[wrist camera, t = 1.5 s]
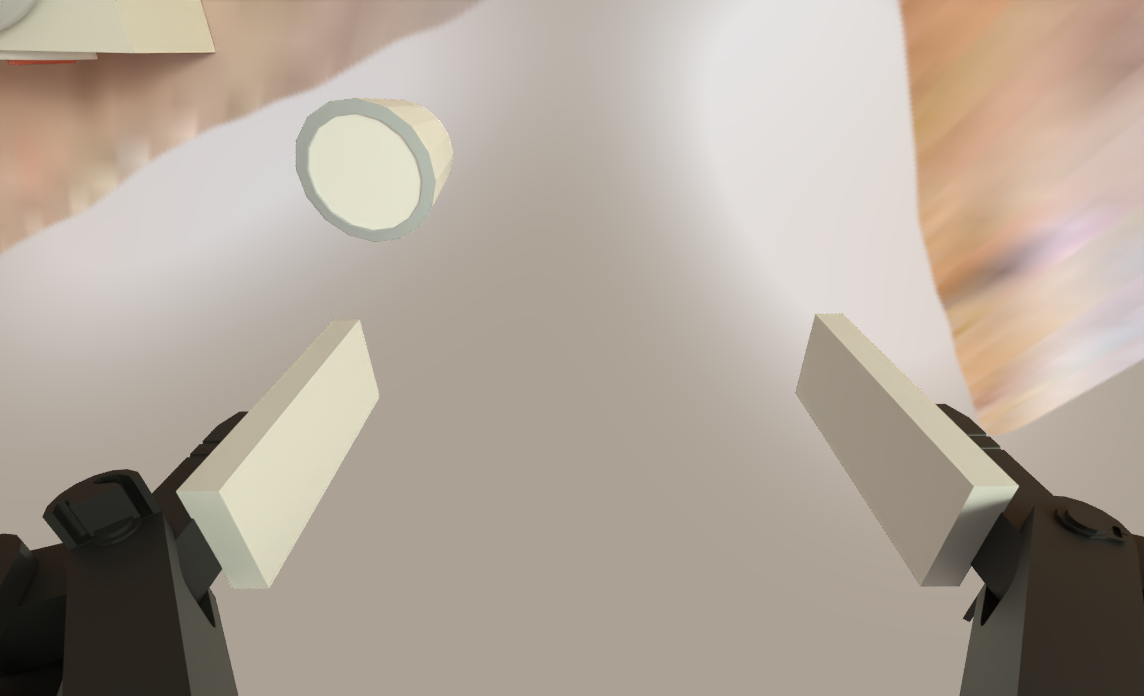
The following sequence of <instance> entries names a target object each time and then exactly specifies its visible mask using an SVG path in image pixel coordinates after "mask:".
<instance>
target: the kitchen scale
mask: <svg viewBox="0 0 1144 696" xmlns="http://www.w3.org/2000/svg"><path fill="white" fill-rule="evenodd" d="M96 52H106V53H208V52H216V51H215V48H214V44H213V41H212V38H211V34H210V31H209V28H208V24H207V21H206V17H205V14H204V11H203V7H202V4H201V1H200V0H0V60H8V62H9V64H10V65H22V64H58V63H76V61H75V60H94V59H98V57H97V54H96Z"/></svg>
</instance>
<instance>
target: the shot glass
mask: <svg viewBox="0 0 1144 696" xmlns="http://www.w3.org/2000/svg"><path fill="white" fill-rule="evenodd" d="M452 161H453V151H452V146H451V142H450V137H449V135H448V133H447V132H446V130H445V128H444V127H443V126H442V124H441V122H440V121H439V119H438V118H437V117H436V116H434V115H433V114H432V113H431V112H429V111H428V110H427V109H426V108H424V107H423V106H421V105H418V104H415V103H412V102H408V101H405V100H394V99H369V98H353V99H345V100H338V101H330V102H328V103H326V104H325V105H323V106H322V107H321V108H319V109H318V110H316V111H315V112H314V113H312V114H311V115H310V116H308V117H307V119H306V121H305V123H304V125H303V127H302V129H301V132H300V134H299V136H298V138H297V140H296V170H297V173H298V175H299V178H300V181H301V183H302V186H303V188H304V191H305V194H306V196H307V198H308V199H309V200H310V201H311V203H312V204H313V205H314V206H315V208H316V209H317V210H318V211H319V212H320V214H321V215H322V216H323V217H324V219H325V220H327V221H328V222H330V223H331V224H333V225H334V226H336V227H337V228H339V229H341V230H342V231H344V232H345V233H347V234H348V235H351V236H354V237H358V238H362V239H366V240H369V241H373V242H378V241H387V240H395V239H400V238H402V237H403V236H405V235H407V234H409V233H410V232H412V231H413V230H415V229H417V228H419V226H420V225H421V224H422V222H423V221H424V219H425V217H426V216H427V214H428V213H429V211H430V210H431V208H432V207H433V205H434V203H435V201H436V199H437V197H438V195H439V193H440V192H441V190H442V188H443V186H444V184H445V182H446V180H447V179H448V177H449V175H450V173H451V167H452Z"/></svg>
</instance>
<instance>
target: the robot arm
mask: <svg viewBox="0 0 1144 696" xmlns="http://www.w3.org/2000/svg"><path fill="white" fill-rule="evenodd" d="M796 394H797V396H798V397H799V399H800V400H801V402H802V404H803V405H804V407H805V408H806V410H807V412H808V413H809V415H810V416H811V418H812V419H813V421H814V422H815V424H816V425H817V427H818V429H819V430H820V432H821V433H822V435H823V436H824V438H825V439H826V441H827V442H828V444H829V445H830V447H831V449H832V450H833V452H834V453H835V455H836V456H837V458H838V459H839V461H840V463H841V464H842V466H843V467H844V469H845V470H846V472H847V473H848V475H849V476H850V478H851V479H852V481H853V482H854V484H855V486H856V487H857V489H858V490H859V492H860V494H861V495H862V497H863V498H864V500H865V501H866V503H867V504H868V506H869V507H870V509H871V510H872V512H873V513H874V515H875V517H876V518H877V520H878V521H879V523H880V524H881V526H882V528H883V529H884V531H885V532H886V534H887V535H888V537H889V538H890V540H891V541H892V543H893V544H894V546H895V548H896V549H897V551H898V552H899V554H900V555H901V557H902V558H903V560H904V562H905V563H906V565H907V566H908V568H909V569H910V571H911V572H912V574H913V576H914V577H915V579H916V580H917V582H918V583H919V585H920V586H960V584H961V583H962V581H963V579H964V577H965V576H966V574H967V573H968V571H969V569H970V568H971V566H972V567H973V568H974V570H975V571H976V572H977V573H978V575H979V576H980V577H981V579H982V580H983V581H984V583H985V584H984V586H983V587H982V589H981V590H980V592H979V594H978V595H977V597H976V599H975V600H974V602H973V603H972V605H971V606H970V608H969V609H968V611H967V612H966V614H965V616H964V618H963V619H965V620H967V621H969V622H970V621H971V619H972V618H973V617H974V619H973V624H972V630H971V635H970V641H969V646H968V652H967V658H966V663H965V668H964V674H963V679H962V685H961V691H960V696H1144V537H1143V536H1138V535H1134V534H1131V533H1130V532H1129V531H1128V530H1127V529H1126V528H1125V527H1124V526H1123V525H1122V524H1121V523H1120V522H1119V521H1117V520H1116V519H1114V518H1113V517H1111V516H1110V515H1108V514H1107V513H1105V512H1104V511H1102V510H1100V509H1098V508H1096V507H1093V506H1091V505H1089V504H1087V503H1085V502H1082V501H1079V500H1075V499H1071V498H1068V497H1063V496H1062V497H1061V496H1053V495H1052V494H1051V493H1050V492H1049V491H1048V490H1047V489H1045V487H1043V486H1042V485H1041V484H1040V483H1039V482H1038V481H1037V480H1036V479H1035V478H1034V477H1033V476H1032V475H1030V474H1029V473H1028V472H1027V471H1026V470H1025V469H1024V468H1023V467H1022V466H1020V464H1019V463H1018V462H1016V461H1015V460H1014V459H1013V458H1012V457H1011V456H1010V455H1009V454H1008V453H1007V452H1006V451H1005V450H1001V449H1000V446H999V445H998V444H997V443H996V442H995V441H994V440H993V439H992V438H991V437H987V436H986V433H985V432H984V431H983V430H982V429H981V428H980V427H979V426H978V425H977V424H975V423H974V422H973V421H972V420H971V419H970V418H969V417H967V416H965V415H964V414H962V413H960V412H958V411H957V410H955V409H953V408H951V407H950V406H948V405H946V404H935V403H933V402H932V401H931V400H930V399H929V398H928V397H927V396H926V395H925V394H924V393H923V392H922V391H921V390H920V389H919V388H918V387H917V386H916V385H915V384H914V383H913V382H912V381H911V380H910V379H909V378H908V377H907V376H906V375H905V374H904V373H903V372H901V370H900V369H898V367H896V365H895V364H894V363H892V362H891V361H890V360H889V359H888V358H887V357H886V356H885V355H884V354H883V353H882V352H881V351H880V350H879V349H878V348H877V347H876V346H875V345H874V344H873V343H872V342H871V341H870V340H869V339H868V338H867V337H866V336H865V335H864V334H863V333H862V332H861V331H860V330H859V329H858V328H857V327H856V326H855V325H853V324H852V323H851V322H850V321H849V320H848V319H847V318H846V317H845V316H844V315H843V314H815V318H814V322H813V326H812V330H811V333H810V338H809V341H808V345H807V349H806V353H805V357H804V361H803V365H802V369H801V373H800V377H799V381H798V385H797V389H796ZM379 397H380V396H379V392H378V388H377V384H376V381H375V377H374V373H373V369H372V365H371V361H370V357H369V354H368V350H367V346H366V342H365V338H364V334H363V330H362V327H361V323H360V320H359V319H350V320H349V319H348V320H347V319H346V320H342V319H341V320H333V321H332V322H331V323H330V324H329V325H328V326H327V327H326V328H325V330H324V331H322V333H321V334H320V335H319V336H318V337H317V338H316V339H315V340H314V341H313V342H312V343H311V345H310V346H309V347H308V348H307V349H306V350H305V351H304V352H303V353H302V354H301V356H300V357H299V358H298V359H297V360H296V361H295V362H294V363H293V364H292V365H291V367H289V369H288V370H287V371H286V372H285V373H284V374H283V375H282V376H281V377H280V378H279V379H278V381H277V382H276V383H275V384H274V385H273V386H272V387H271V388H270V390H268V392H267V393H266V394H265V395H264V396H263V397H262V398H261V399H260V400H259V401H258V402H257V404H256V405H255V406H254V407H253V408H252V409H251V410H250V411H249V412H238V413H237V414H235V415H234V416H232V417H231V418H229V419H227V420H226V421H224V422H222V423H221V424H219V425H218V426H217V427H216V428H215V429H214V430H213V431H212V432H211V433H210V434H209V435H208V436H207V437H206V438H205V439H204V441H203V444H199V446H198V447H197V448H196V449H195V450H194V451H193V452H192V453H191V454H190V457H187V458H186V459H185V460H184V461H183V462H182V463H181V464H180V465H179V466H178V467H177V468H176V469H175V470H174V471H173V472H172V473H171V474H170V476H168V478H167V479H166V480H165V481H164V482H163V483H162V484H161V485H160V486H159V487H158V488H157V489H156V490H155V491H154V492H153V493H151V492H150V490H149V489H148V487H147V485H146V484H145V482H144V481H143V479H142V477H141V476H140V474H139V473H138V472H136V471H132V470H128V469H125V470H112V471H109V472H105V473H102V474H98V475H95V476H92V477H90V478H88V479H86V480H84V481H81V482H79V483H77V484H75V485H73V486H72V487H70V488H69V489H67V490H66V491H64V492H63V493H61V494H60V495H58V496H57V497H56V498H55V499H54V500H53V501H52V502H51V503H50V504H49V505H48V506H47V508H46V510H45V512H44V515H43V518H44V519H45V521H46V522H47V523H48V524H49V526H50V527H51V528H52V529H53V531H54V532H55V533H56V534H57V536H58V537H59V538H60V540H61V541H62V542H63V543H61V544H57V545H53V546H48V547H44V548H40V549H36V550H31V551H30V550H29V549H28V548H27V547H26V545H25V544H24V543H23V542H22V541H21V540H20V538H19V537H18V536H17V535H12V534H0V696H238V693H237V689H236V684H235V680H234V675H233V671H232V667H231V663H230V658H229V654H228V650H227V645H226V641H225V637H224V632H223V628H222V624H221V620H220V615H219V611H218V606H217V603H216V598H215V596H214V594H213V593H212V591H211V590H210V588H209V587H210V586H211V584H212V583H213V581H214V580H215V579H216V577H217V576H218V574H219V573H220V571H221V570H222V572H223V574H224V576H225V577H226V579H227V581H228V583H229V584H230V586H231V588H232V589H244V588H245V589H252V588H254V589H256V588H258V589H262V588H263V589H266V588H268V589H269V588H270V586H271V584H272V583H273V581H274V579H275V577H276V576H277V574H278V572H279V570H280V569H281V567H282V565H283V564H284V562H285V560H286V558H287V557H288V555H289V553H290V551H291V550H292V548H293V546H294V545H295V543H296V541H297V539H298V537H299V536H300V534H301V532H302V531H303V529H304V527H305V525H306V524H307V522H308V520H309V519H310V517H311V515H312V513H313V511H314V510H315V508H316V506H317V505H318V503H319V501H320V499H321V498H322V496H323V494H324V492H325V491H326V489H327V487H328V485H329V484H330V482H331V480H332V479H333V477H334V475H335V473H336V472H337V470H338V468H339V466H340V465H341V463H342V461H343V459H344V458H345V456H346V454H347V452H348V451H349V449H350V447H351V445H352V444H353V442H354V440H355V439H356V437H357V435H358V433H359V432H360V430H361V428H362V426H363V425H364V423H365V421H366V419H367V418H368V416H369V414H370V413H371V411H372V409H373V407H374V406H375V404H376V402H377V400H378V399H379Z"/></svg>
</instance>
